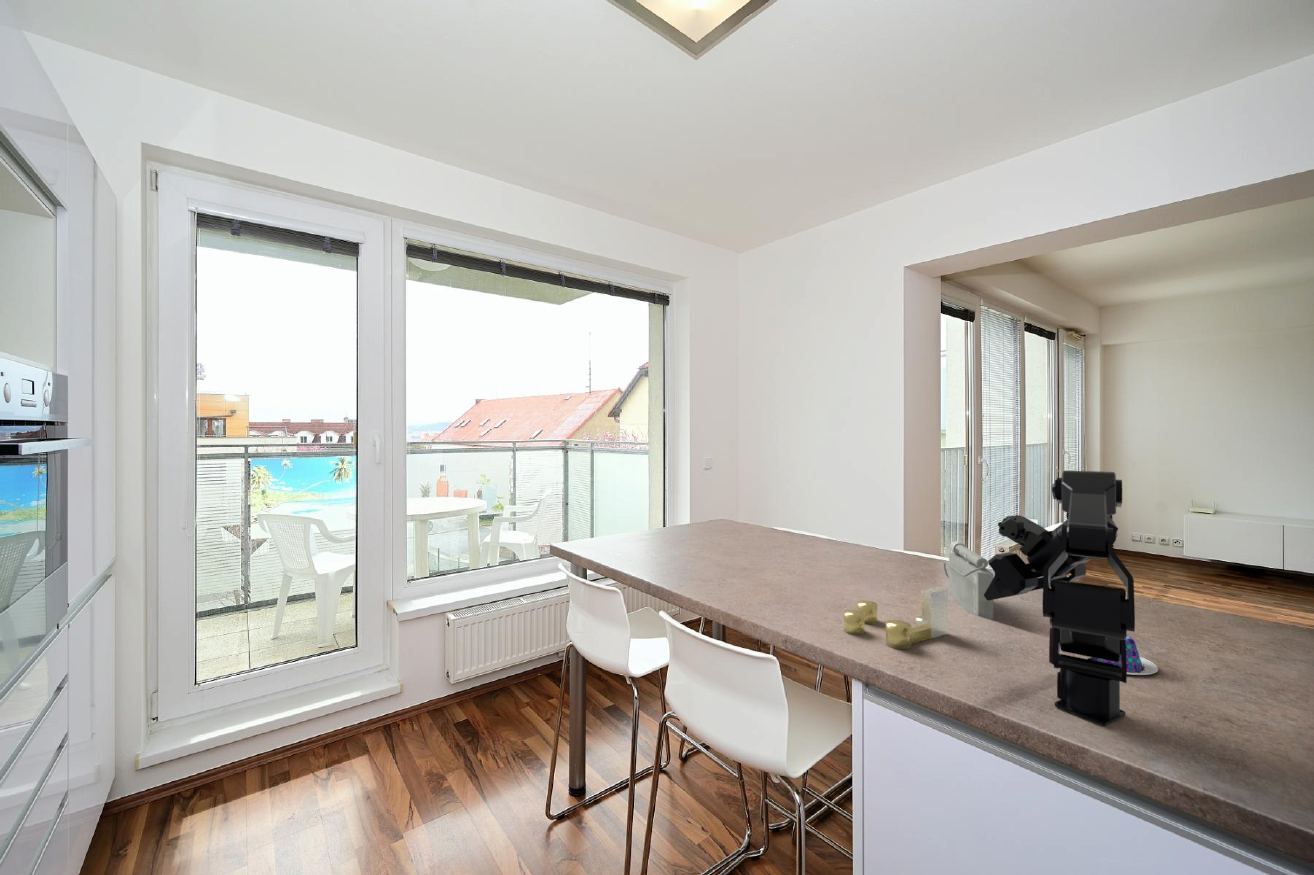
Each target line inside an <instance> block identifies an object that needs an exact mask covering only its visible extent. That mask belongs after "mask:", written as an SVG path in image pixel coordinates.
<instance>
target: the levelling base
mask: <svg viewBox="0 0 1314 875" xmlns="http://www.w3.org/2000/svg"><path fill="white" fill-rule="evenodd" d="M856 605H857V606H856V609H847V610H845V609H844V610H843V632H844V633H845V634H848V635H852V636H861V635H865V632H866V628H865V626H866V625H876V624H878V603H877V602H874V601H872V600H858V601H857V603H856ZM915 622H917V623H919V624H922V615H921V616H916V617H915Z"/></svg>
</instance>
